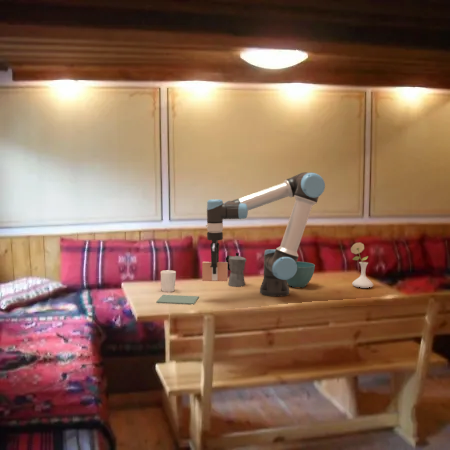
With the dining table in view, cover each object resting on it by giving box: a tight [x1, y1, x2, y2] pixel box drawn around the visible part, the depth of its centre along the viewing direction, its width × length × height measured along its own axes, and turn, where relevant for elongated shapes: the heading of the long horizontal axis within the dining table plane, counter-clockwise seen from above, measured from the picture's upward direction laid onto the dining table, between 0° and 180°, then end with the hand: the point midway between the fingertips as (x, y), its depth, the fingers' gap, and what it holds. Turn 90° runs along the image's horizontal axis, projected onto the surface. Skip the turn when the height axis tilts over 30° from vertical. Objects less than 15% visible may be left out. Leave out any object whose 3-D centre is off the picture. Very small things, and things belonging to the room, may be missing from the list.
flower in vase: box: [350, 242, 374, 289], centre depth 330 cm, size 13×11×25 cm
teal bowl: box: [287, 261, 316, 288], centre depth 329 cm, size 18×18×12 cm
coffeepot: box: [225, 252, 247, 288], centre depth 328 cm, size 15×9×18 cm, turn 44°
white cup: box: [160, 269, 177, 293], centre depth 310 cm, size 8×8×10 cm
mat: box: [156, 294, 199, 305], centre depth 290 cm, size 18×15×1 cm
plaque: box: [201, 261, 229, 283], centre depth 290 cm, size 12×2×9 cm, turn 84°
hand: (215, 279), depth 290 cm, fingers closed on plaque, 2 cm apart
